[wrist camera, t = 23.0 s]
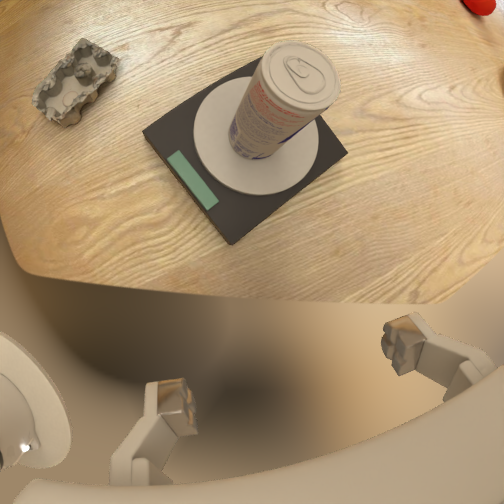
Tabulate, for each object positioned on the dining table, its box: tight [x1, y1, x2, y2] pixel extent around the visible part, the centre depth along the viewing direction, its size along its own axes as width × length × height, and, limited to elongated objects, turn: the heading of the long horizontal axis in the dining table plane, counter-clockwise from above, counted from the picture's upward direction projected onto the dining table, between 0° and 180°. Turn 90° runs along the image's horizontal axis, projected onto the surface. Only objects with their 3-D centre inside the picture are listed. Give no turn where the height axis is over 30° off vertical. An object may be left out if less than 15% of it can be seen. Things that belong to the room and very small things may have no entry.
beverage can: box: [228, 40, 341, 160], centre depth 24 cm, size 6×6×15 cm
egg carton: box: [32, 38, 119, 128], centre depth 28 cm, size 11×8×4 cm
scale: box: [142, 56, 348, 245], centre depth 33 cm, size 18×16×4 cm
